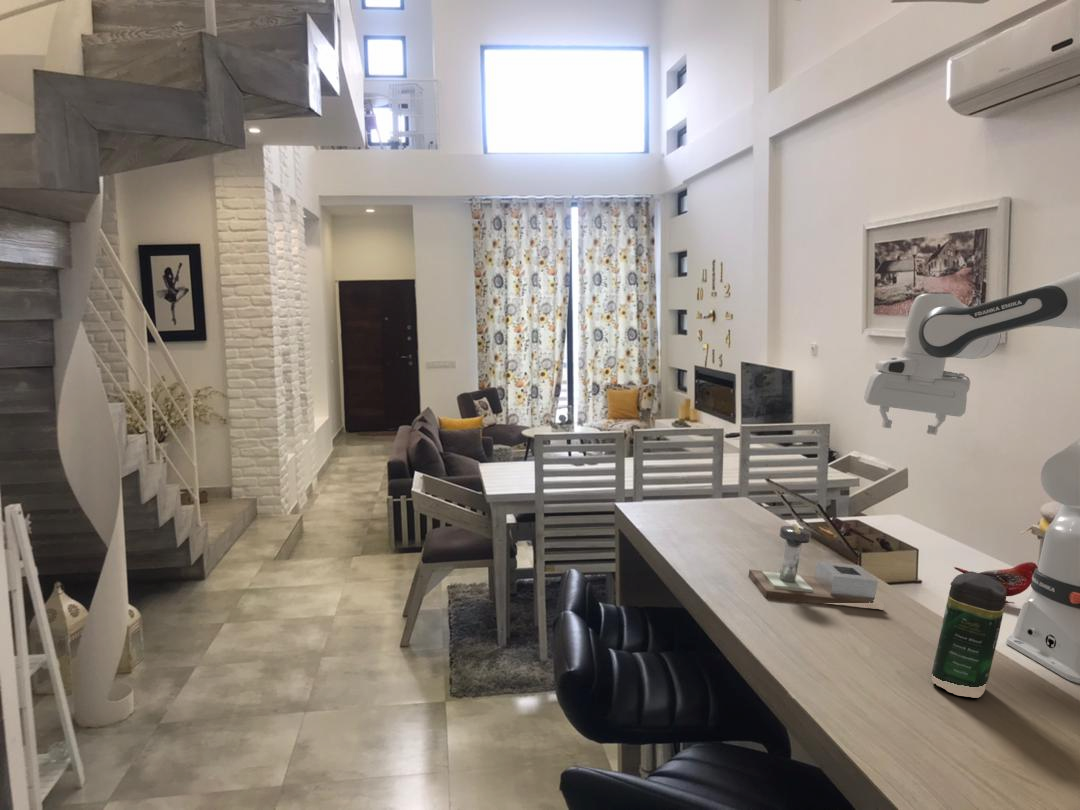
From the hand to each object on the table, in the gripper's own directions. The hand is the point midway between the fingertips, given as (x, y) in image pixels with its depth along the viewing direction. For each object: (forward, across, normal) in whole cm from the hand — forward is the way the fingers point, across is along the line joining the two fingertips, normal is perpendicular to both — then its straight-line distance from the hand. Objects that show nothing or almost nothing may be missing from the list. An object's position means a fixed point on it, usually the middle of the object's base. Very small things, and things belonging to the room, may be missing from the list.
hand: (908, 430), depth 174 cm
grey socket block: (+33, +11, +15) cm, 38 cm away
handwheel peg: (+32, +23, +17) cm, 43 cm away
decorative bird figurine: (+34, -23, +2) cm, 41 cm away
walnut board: (+34, +17, +16) cm, 42 cm away
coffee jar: (+34, +1, +51) cm, 61 cm away
